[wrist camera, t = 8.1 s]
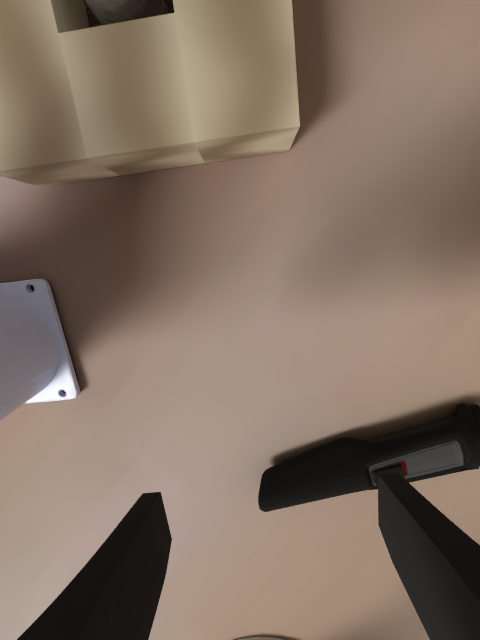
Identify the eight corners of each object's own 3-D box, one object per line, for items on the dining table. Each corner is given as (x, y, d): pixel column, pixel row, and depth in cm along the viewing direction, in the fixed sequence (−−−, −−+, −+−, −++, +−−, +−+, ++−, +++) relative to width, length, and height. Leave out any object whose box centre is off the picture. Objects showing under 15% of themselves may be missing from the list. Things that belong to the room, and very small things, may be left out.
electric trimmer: (250, 451, 21) (250, 487, 18) (472, 395, 20) (513, 424, 16) (265, 491, 22) (267, 532, 19) (479, 441, 20) (519, 477, 17)
